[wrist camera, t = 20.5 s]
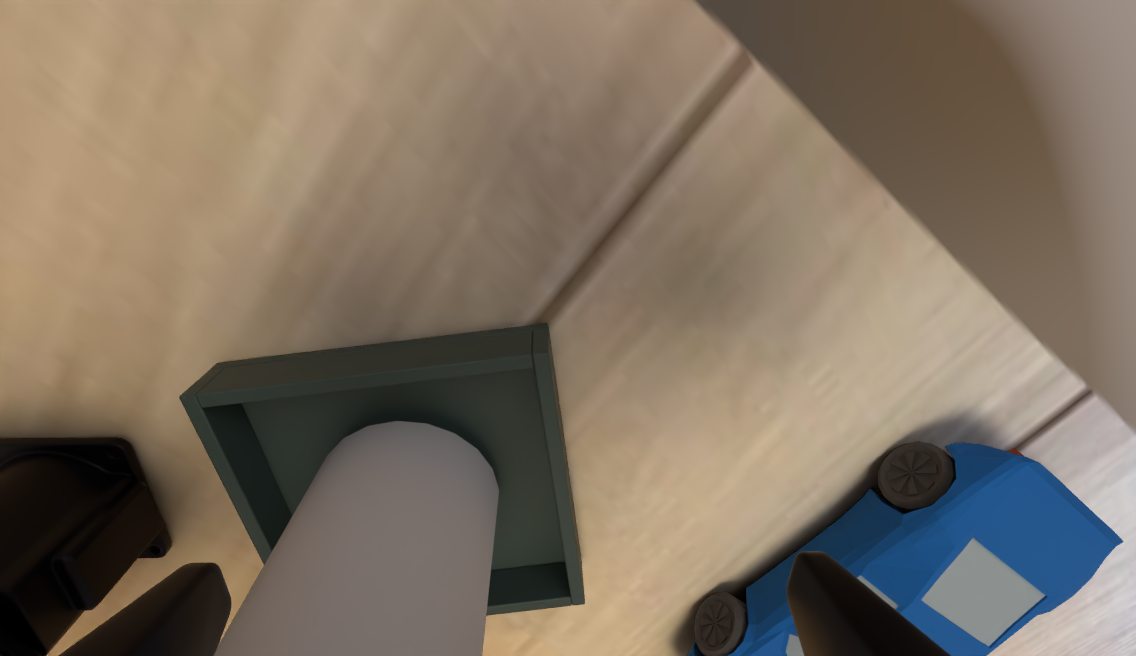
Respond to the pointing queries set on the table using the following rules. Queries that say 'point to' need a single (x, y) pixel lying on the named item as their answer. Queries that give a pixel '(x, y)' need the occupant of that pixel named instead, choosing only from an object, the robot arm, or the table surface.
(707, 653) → the toy car
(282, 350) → the table surface
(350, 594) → the can
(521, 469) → the tray
